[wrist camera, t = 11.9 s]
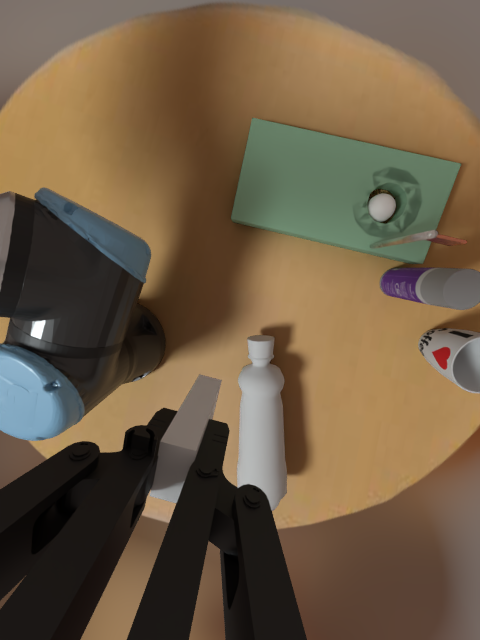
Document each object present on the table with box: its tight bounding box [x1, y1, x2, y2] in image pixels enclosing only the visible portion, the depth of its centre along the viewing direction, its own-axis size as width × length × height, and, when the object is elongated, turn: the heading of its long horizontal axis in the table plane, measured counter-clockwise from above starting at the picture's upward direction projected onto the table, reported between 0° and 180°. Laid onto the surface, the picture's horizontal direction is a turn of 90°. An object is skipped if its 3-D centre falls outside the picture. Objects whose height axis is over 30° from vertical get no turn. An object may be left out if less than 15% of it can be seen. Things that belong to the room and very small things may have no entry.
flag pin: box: [370, 230, 467, 249], centre depth 32 cm, size 4×1×14 cm, turn 77°
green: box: [231, 118, 461, 264], centre depth 39 cm, size 30×14×3 cm, turn 77°
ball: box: [367, 193, 396, 222], centre depth 38 cm, size 4×4×4 cm
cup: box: [418, 328, 480, 393], centre depth 39 cm, size 8×8×10 cm
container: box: [380, 268, 480, 310], centre depth 35 cm, size 5×5×15 cm
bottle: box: [237, 335, 287, 511], centre depth 45 cm, size 9×9×30 cm
